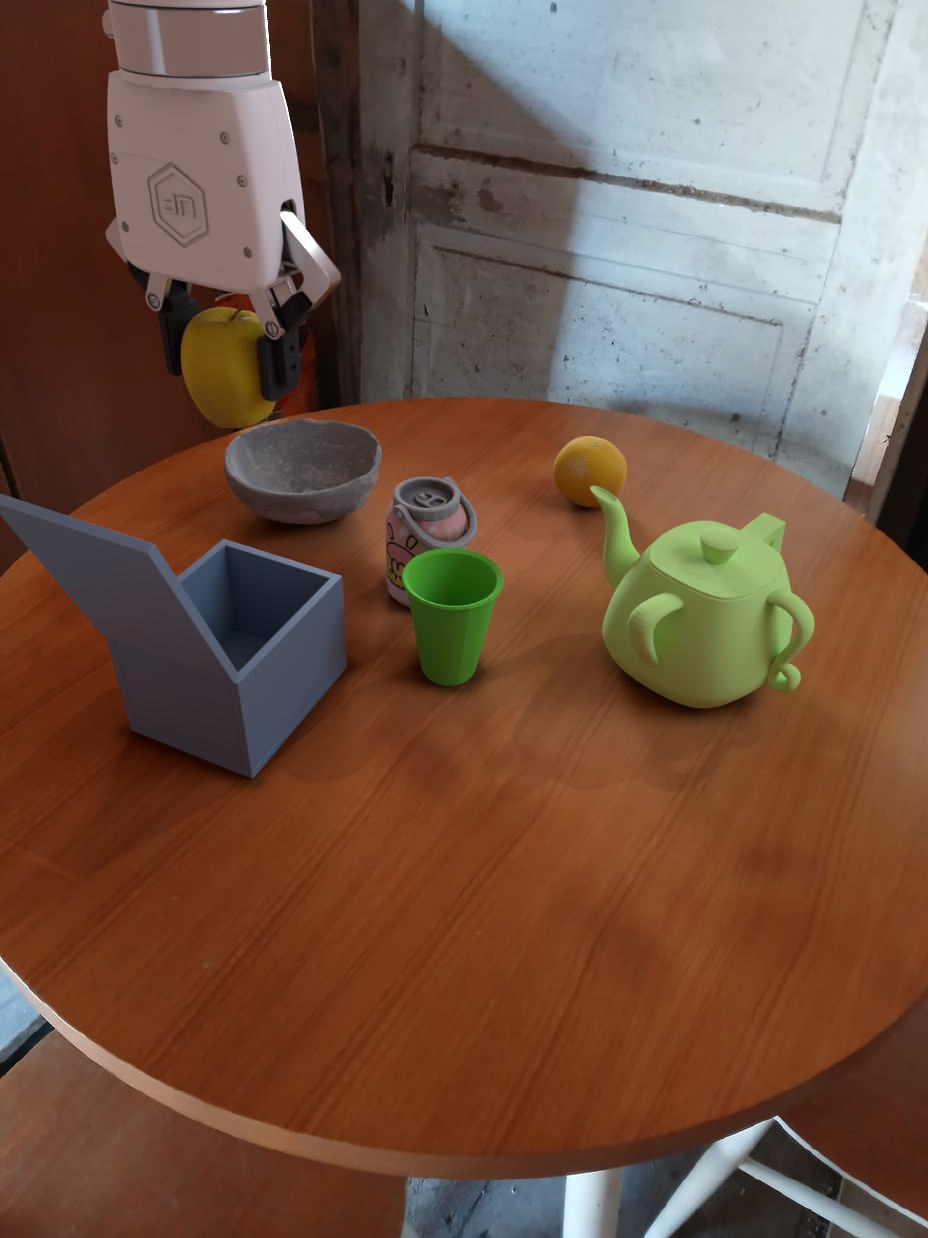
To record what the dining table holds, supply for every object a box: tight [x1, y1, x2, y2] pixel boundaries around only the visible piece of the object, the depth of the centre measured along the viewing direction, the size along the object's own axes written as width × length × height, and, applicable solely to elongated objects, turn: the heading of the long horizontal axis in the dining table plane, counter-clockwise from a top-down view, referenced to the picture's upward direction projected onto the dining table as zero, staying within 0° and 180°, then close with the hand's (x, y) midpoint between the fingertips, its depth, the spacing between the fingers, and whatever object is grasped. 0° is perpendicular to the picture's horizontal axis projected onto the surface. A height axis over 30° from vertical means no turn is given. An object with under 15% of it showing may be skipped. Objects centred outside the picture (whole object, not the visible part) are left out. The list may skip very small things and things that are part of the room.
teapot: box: [590, 486, 815, 709], centre depth 85 cm, size 19×20×14 cm
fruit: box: [552, 435, 628, 508], centre depth 109 cm, size 9×8×8 cm
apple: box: [181, 305, 277, 429], centre depth 56 cm, size 6×6×8 cm
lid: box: [0, 493, 239, 684], centre depth 63 cm, size 16×13×1 cm
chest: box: [105, 538, 348, 780], centre depth 79 cm, size 16×13×11 cm
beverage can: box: [385, 476, 478, 609], centre depth 92 cm, size 9×8×12 cm
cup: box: [401, 548, 505, 687], centre depth 83 cm, size 9×9×11 cm
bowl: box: [222, 418, 383, 526], centre depth 105 cm, size 18×18×8 cm
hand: (234, 377), depth 57 cm, fingers closed on apple, 6 cm apart
